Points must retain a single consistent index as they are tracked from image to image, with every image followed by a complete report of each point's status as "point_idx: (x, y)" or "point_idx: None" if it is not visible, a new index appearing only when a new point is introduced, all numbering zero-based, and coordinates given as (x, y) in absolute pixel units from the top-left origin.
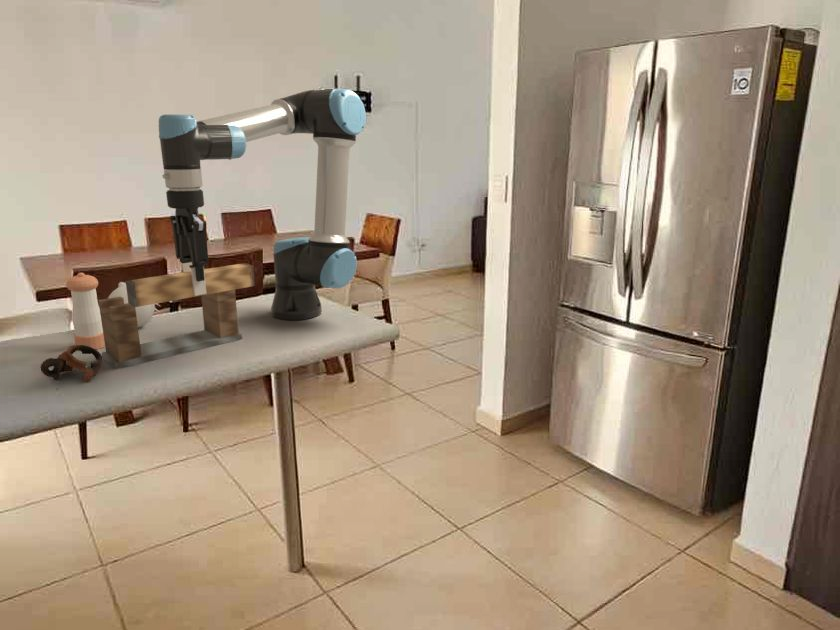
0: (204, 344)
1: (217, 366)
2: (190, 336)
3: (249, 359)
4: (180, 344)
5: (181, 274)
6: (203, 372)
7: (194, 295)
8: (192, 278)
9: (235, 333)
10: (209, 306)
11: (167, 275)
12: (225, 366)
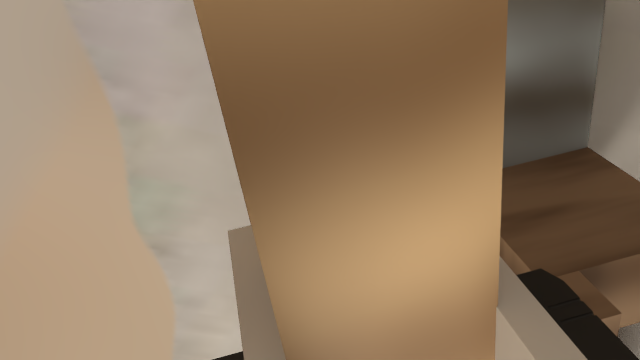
0: None
1: (198, 104)
2: (555, 82)
3: (216, 222)
4: None
5: (397, 276)
6: (152, 37)
7: (240, 228)
8: (263, 341)
9: None
10: (602, 227)
11: (453, 115)
12: (182, 132)
